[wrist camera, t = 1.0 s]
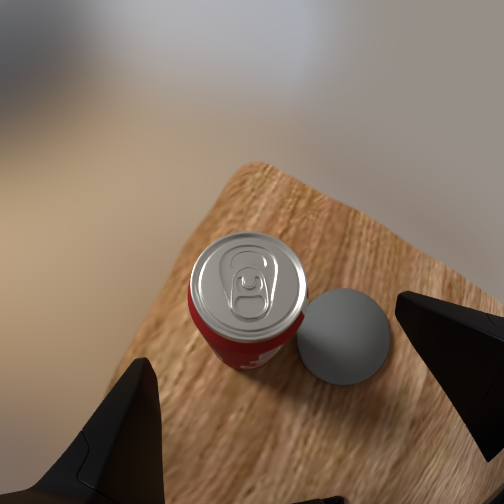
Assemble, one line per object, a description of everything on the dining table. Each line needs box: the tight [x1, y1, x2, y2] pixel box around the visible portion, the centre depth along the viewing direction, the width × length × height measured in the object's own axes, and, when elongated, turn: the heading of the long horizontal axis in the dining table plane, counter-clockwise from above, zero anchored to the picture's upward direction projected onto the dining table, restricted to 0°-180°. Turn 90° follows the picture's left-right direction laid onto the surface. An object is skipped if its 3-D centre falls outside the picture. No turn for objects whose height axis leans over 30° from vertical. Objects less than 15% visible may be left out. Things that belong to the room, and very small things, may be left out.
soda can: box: [188, 231, 308, 370], centre depth 16 cm, size 5×5×12 cm
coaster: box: [296, 288, 390, 385], centre depth 21 cm, size 8×8×1 cm
